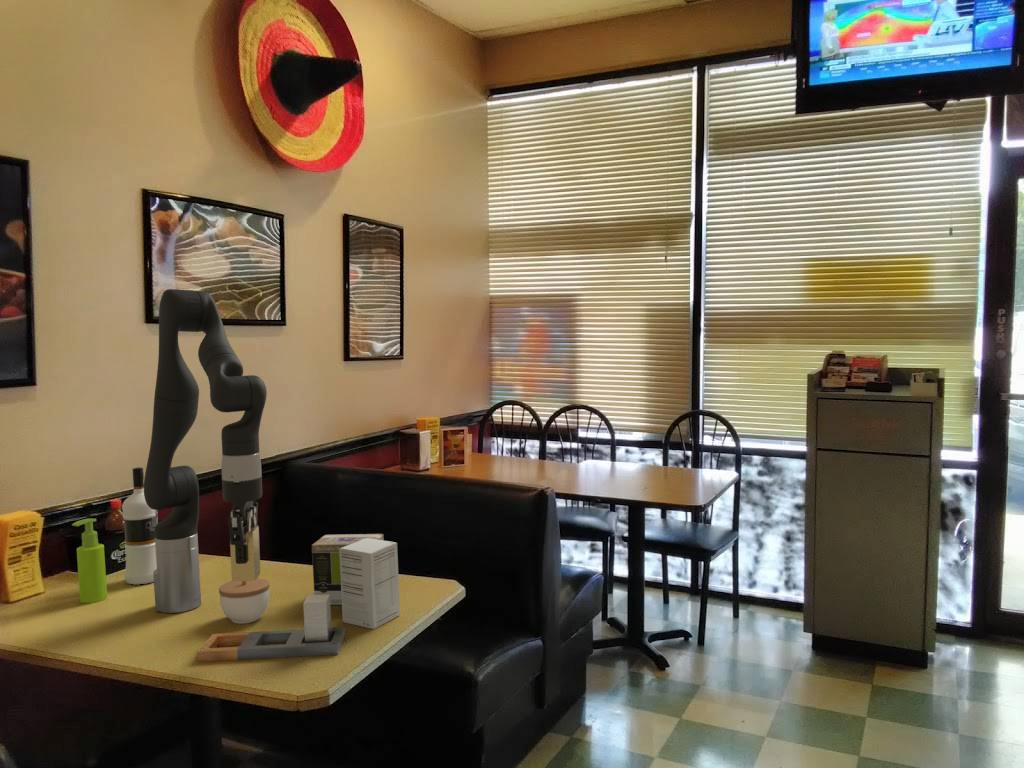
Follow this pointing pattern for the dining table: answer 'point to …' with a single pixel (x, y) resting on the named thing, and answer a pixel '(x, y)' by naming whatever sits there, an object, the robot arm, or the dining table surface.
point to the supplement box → (369, 582)
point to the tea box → (332, 563)
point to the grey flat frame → (255, 650)
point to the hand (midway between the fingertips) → (245, 558)
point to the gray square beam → (317, 619)
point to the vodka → (139, 534)
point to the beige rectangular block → (252, 567)
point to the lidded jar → (244, 600)
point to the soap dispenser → (91, 565)
